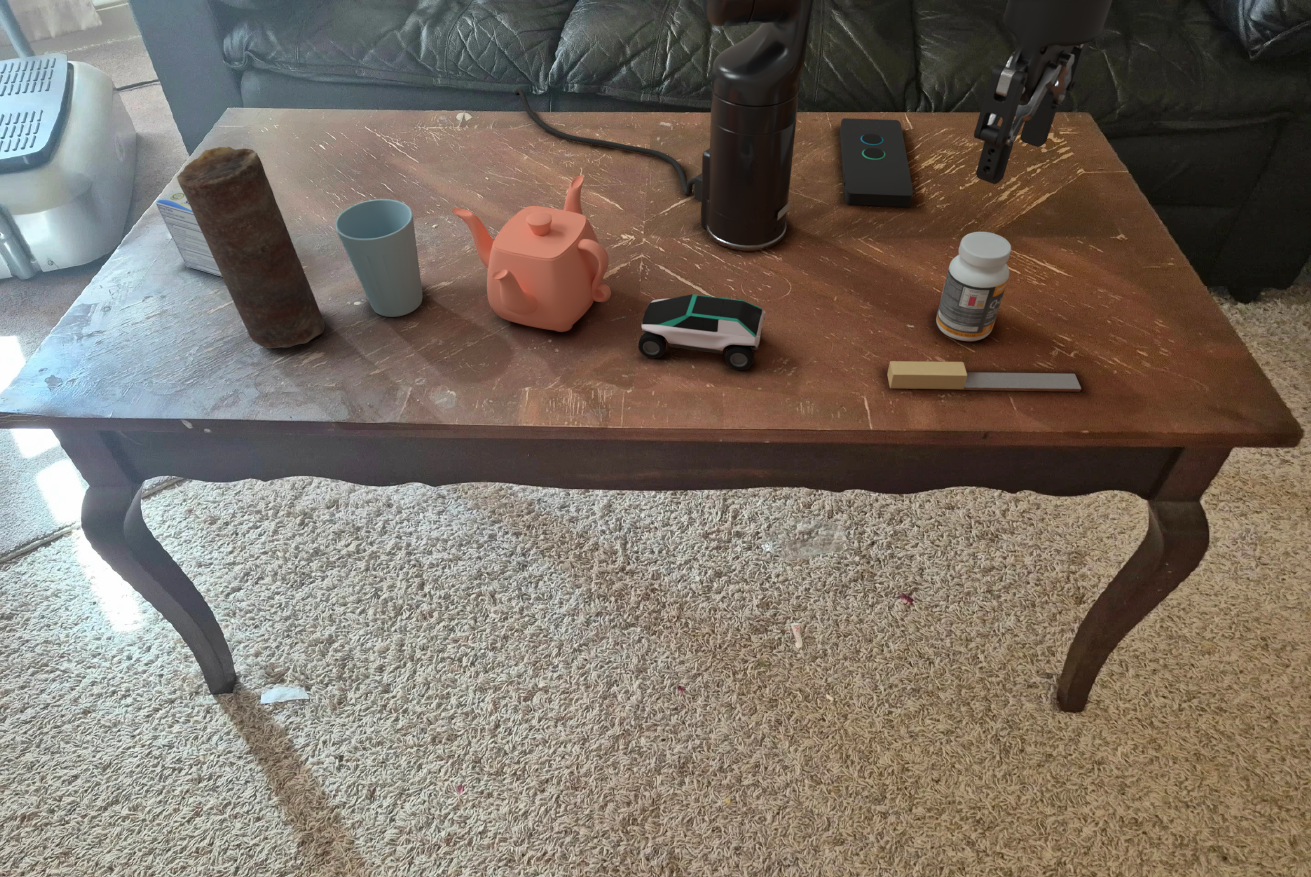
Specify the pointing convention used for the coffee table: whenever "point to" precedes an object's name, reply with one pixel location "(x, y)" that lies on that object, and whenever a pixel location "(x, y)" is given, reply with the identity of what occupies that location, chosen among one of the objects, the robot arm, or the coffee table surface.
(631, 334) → the coffee table surface
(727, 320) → the toy car
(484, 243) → the teapot
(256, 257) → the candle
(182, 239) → the medicine box
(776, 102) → the robot arm
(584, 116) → the coffee table surface
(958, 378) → the knife
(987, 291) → the pill bottle
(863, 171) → the smart home device
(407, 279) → the cup
